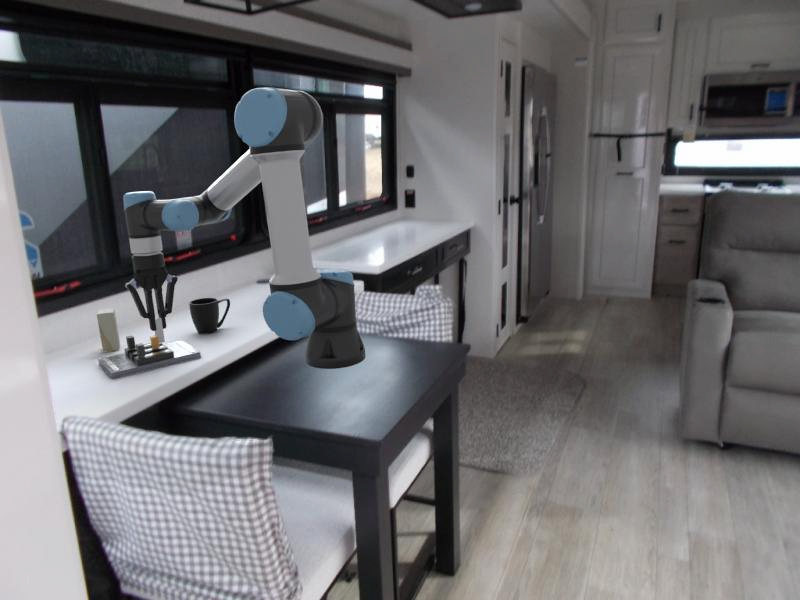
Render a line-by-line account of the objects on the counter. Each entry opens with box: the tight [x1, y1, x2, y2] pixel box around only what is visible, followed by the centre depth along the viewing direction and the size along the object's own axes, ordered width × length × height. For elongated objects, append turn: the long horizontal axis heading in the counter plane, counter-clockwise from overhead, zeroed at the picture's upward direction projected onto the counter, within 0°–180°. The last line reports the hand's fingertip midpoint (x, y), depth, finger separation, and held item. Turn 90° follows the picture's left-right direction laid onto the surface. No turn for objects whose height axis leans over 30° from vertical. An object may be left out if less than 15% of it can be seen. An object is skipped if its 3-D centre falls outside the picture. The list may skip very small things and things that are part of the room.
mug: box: [188, 297, 231, 335], centre depth 186 cm, size 8×12×10 cm
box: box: [96, 308, 121, 353], centre depth 173 cm, size 5×4×11 cm
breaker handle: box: [149, 334, 160, 349], centre depth 162 cm, size 2×2×3 cm
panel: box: [97, 335, 202, 380], centre depth 162 cm, size 14×22×6 cm, turn 128°
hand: (160, 341), depth 164 cm, fingers closed
